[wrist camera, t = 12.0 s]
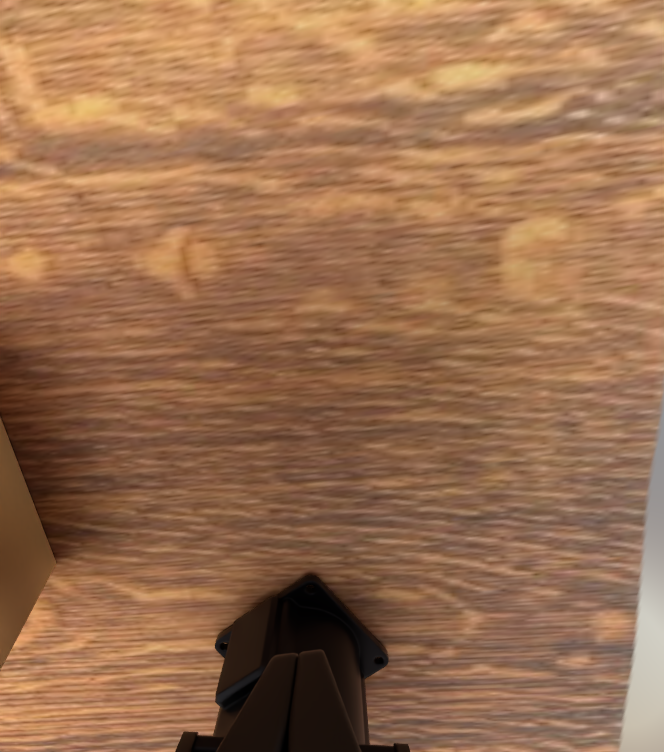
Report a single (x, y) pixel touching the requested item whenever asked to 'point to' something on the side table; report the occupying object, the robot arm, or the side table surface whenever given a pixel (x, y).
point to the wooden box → (18, 549)
